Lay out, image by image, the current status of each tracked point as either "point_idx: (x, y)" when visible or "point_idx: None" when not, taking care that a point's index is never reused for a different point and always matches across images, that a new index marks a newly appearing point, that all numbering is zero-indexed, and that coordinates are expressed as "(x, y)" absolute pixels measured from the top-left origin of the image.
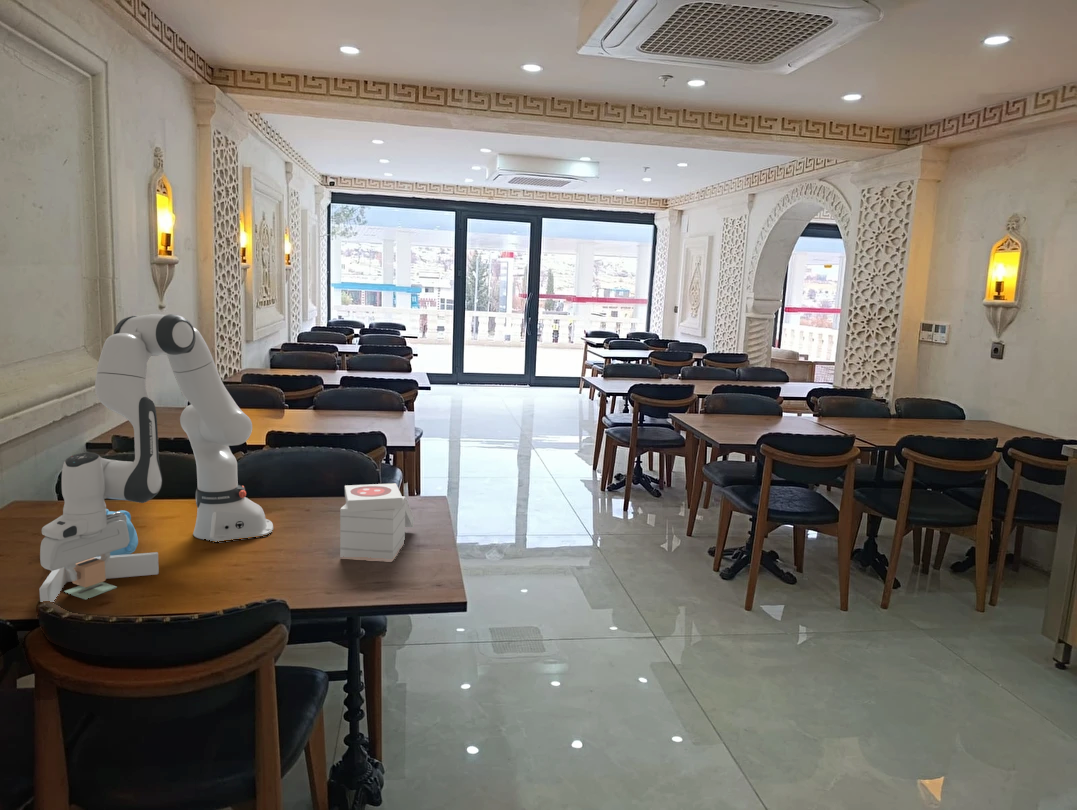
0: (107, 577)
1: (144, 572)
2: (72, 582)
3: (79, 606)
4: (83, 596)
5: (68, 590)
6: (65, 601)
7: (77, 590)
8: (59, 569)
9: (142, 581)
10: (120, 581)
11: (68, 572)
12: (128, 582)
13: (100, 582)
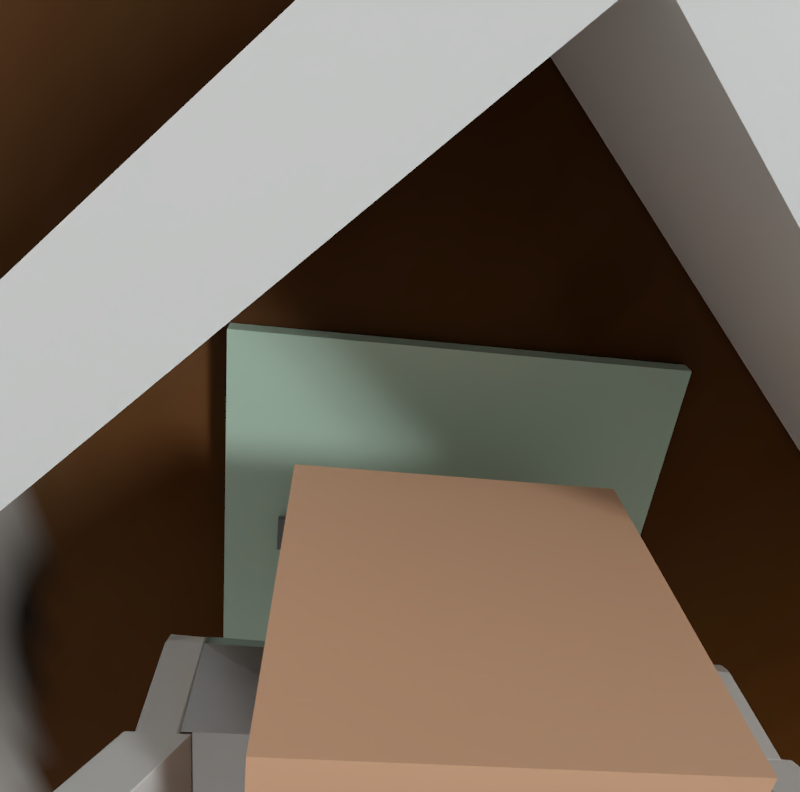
0: (797, 438)
1: None
2: (294, 469)
3: (96, 732)
4: (247, 632)
5: (275, 360)
6: (80, 547)
7: (329, 456)
8: (146, 386)
9: (791, 754)
10: (743, 604)
11: (585, 36)
12: (738, 679)
13: (630, 490)
